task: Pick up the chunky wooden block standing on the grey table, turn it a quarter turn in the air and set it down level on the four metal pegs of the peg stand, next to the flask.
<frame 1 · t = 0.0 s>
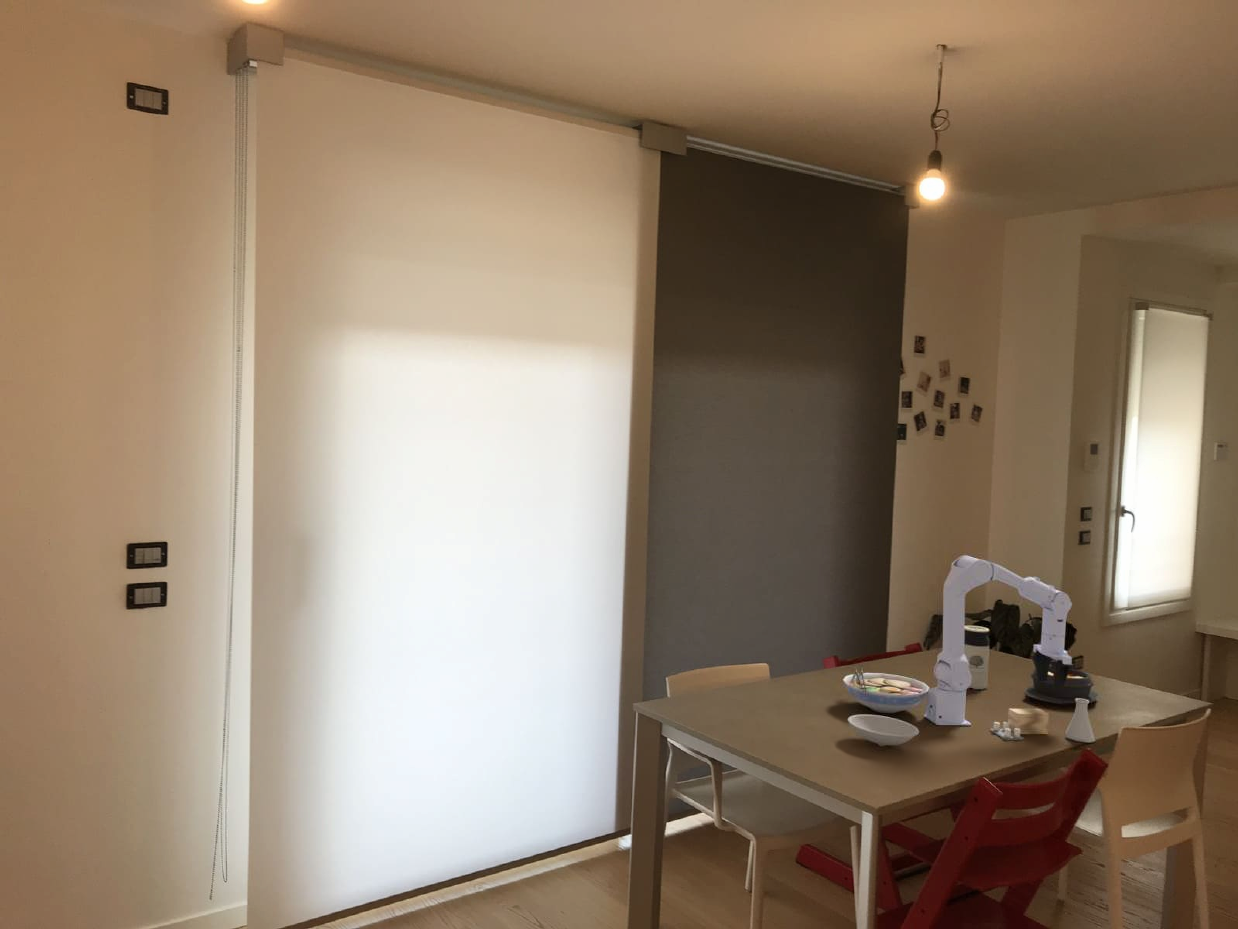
hand: (1050, 684, 255), 10 cm above the table, tool pointing down, fingers open, 7 cm apart
wooden block: (1027, 732, 245), on the table
ramen bowl: (884, 710, 260), on the table, touching arm
casserole: (1060, 701, 278), on the table
peg stand: (1006, 735, 241), on the table
dish: (881, 746, 229), on the table
flask: (1079, 739, 241), on the table
travel mug: (972, 687, 289), on the table
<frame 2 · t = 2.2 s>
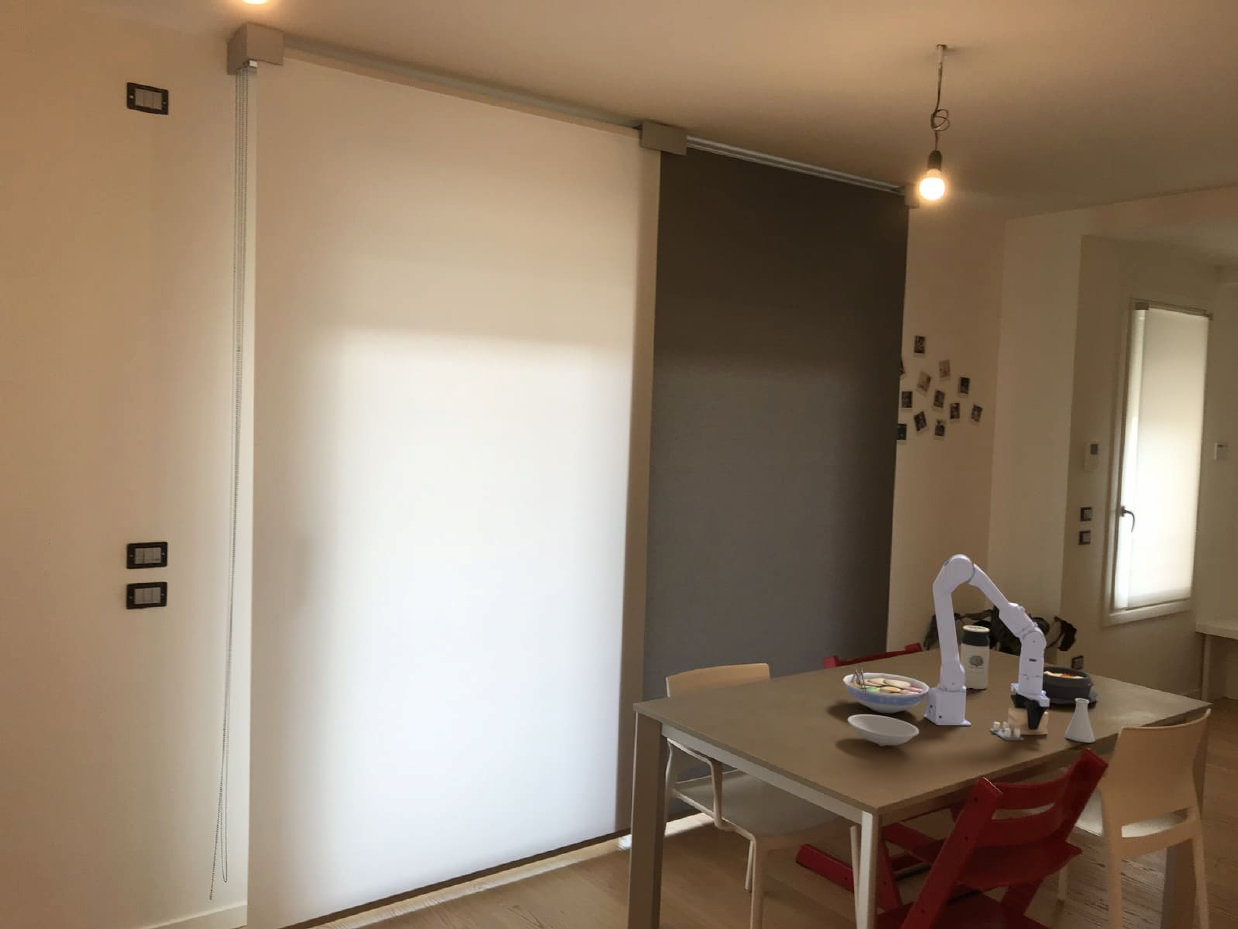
hand: (1027, 726, 245), 1 cm above the table, tool pointing down, fingers closed on wooden block, 4 cm apart
wooden block: (1027, 731, 245), on the table, touching gripper
everything else where it was.
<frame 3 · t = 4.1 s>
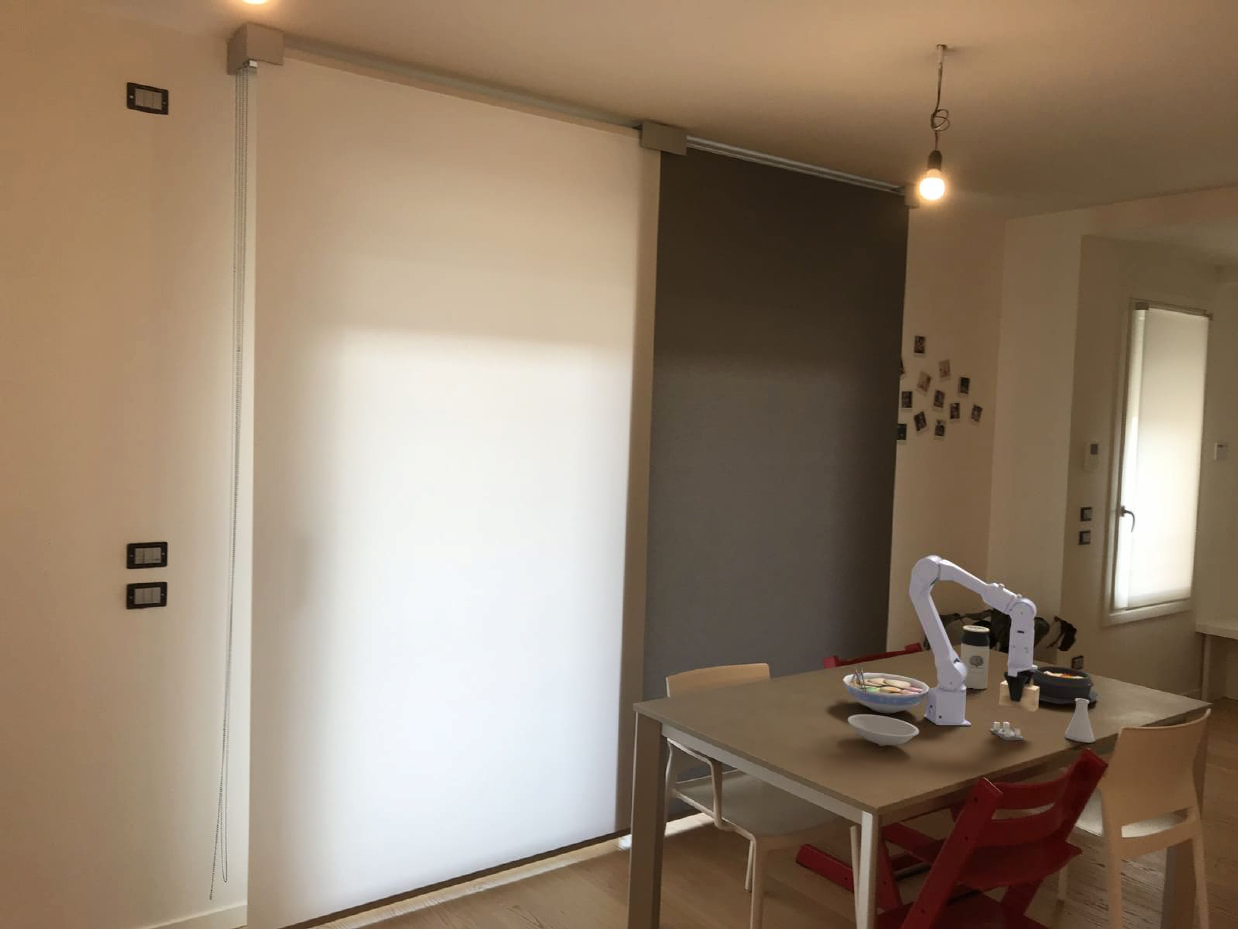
hand: (1018, 699, 243), 9 cm above the table, tool pointing down, fingers closed on wooden block, 4 cm apart
wooden block: (1018, 706, 243), point 7 cm above the table, touching gripper
everything else where it was.
when the fingers open (5 cm above the table, at t = 6.2 s): wooden block stays where it is, resting on peg stand.
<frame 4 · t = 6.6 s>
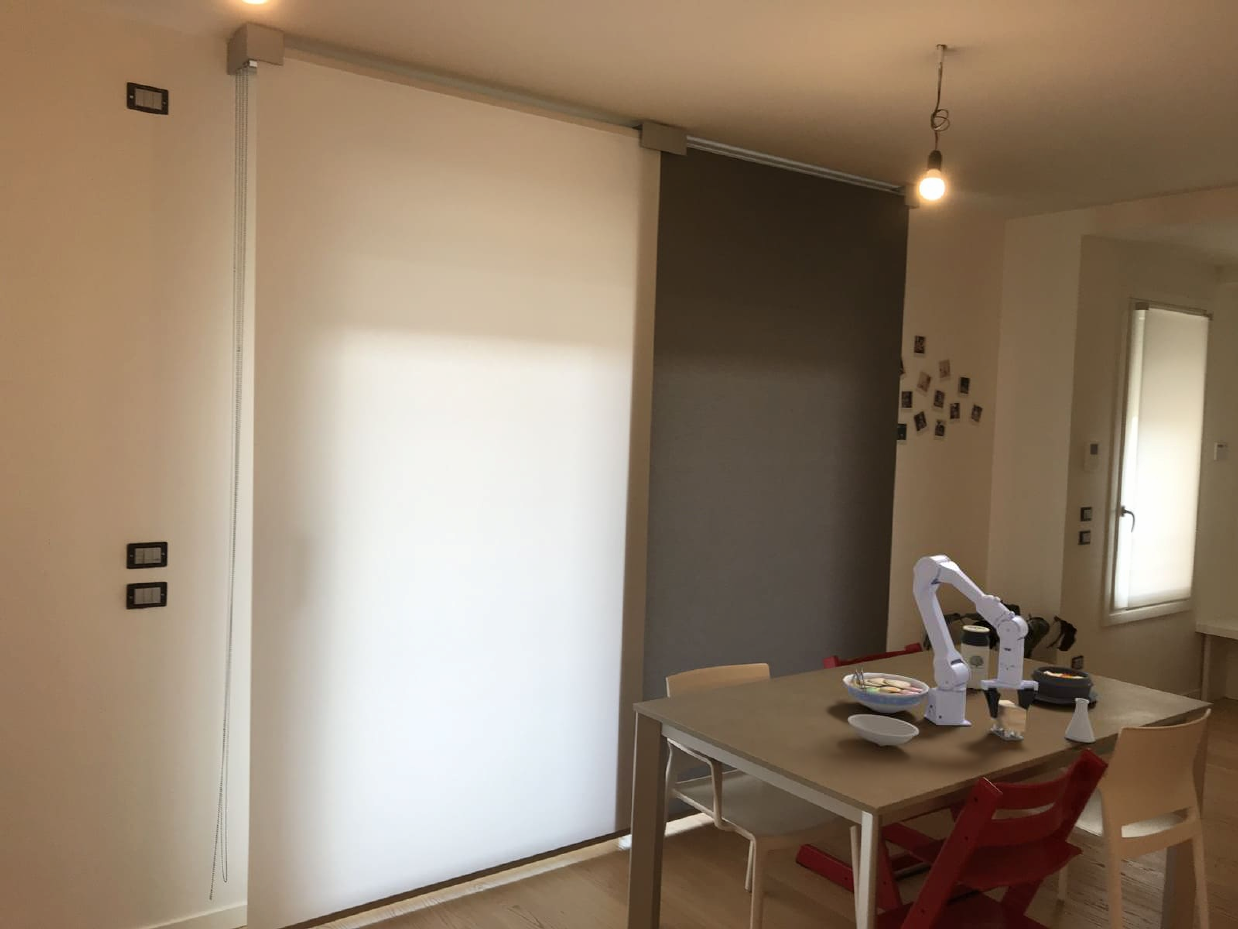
hand: (1007, 717, 241), 5 cm above the table, tool pointing down, fingers open, 7 cm apart
wooden block: (1007, 726, 241), point 2 cm above the table, touching peg stand
everything else where it was.
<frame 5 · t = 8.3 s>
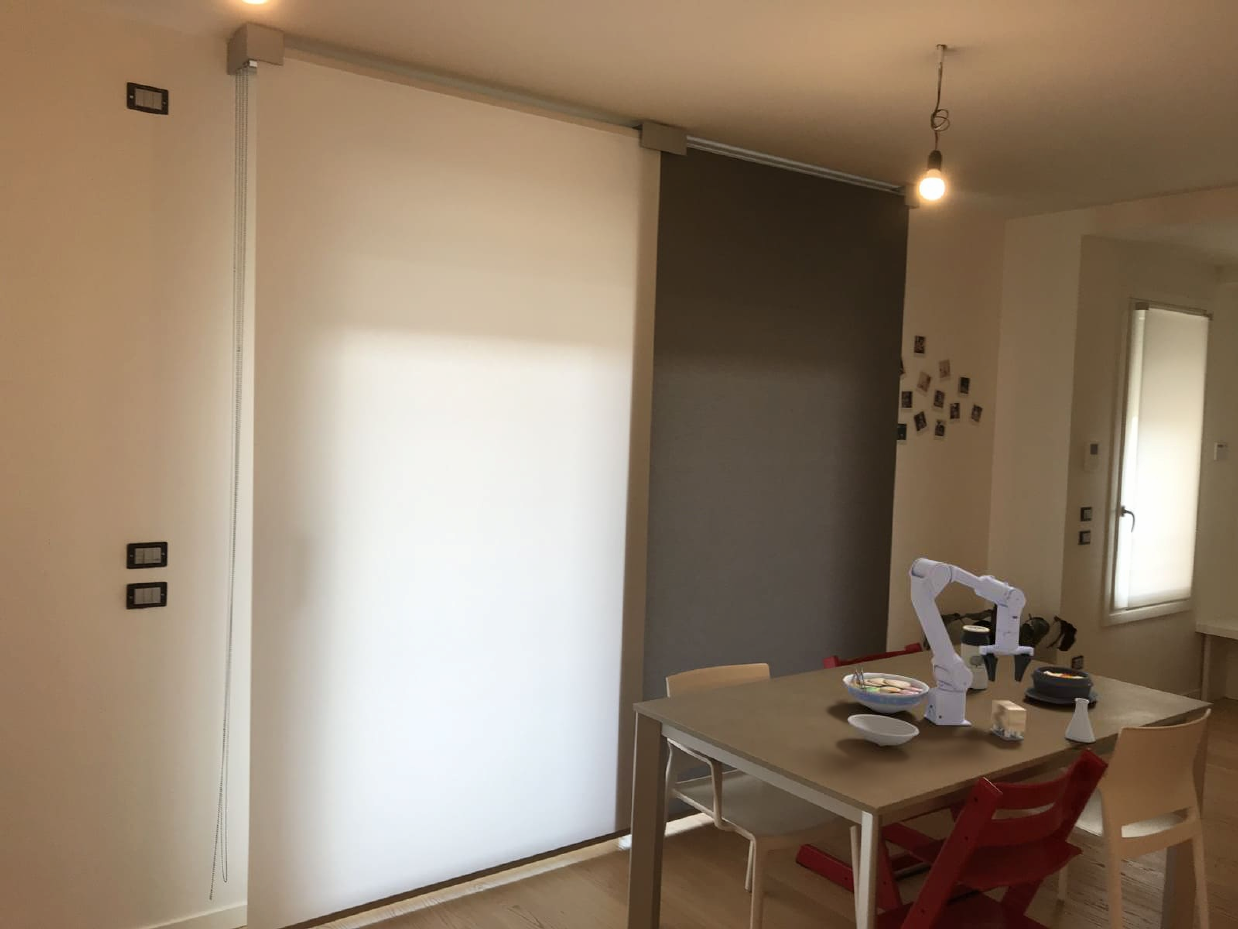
hand: (1004, 681, 255), 10 cm above the table, tool pointing down, fingers open, 7 cm apart
nothing on the table moved.
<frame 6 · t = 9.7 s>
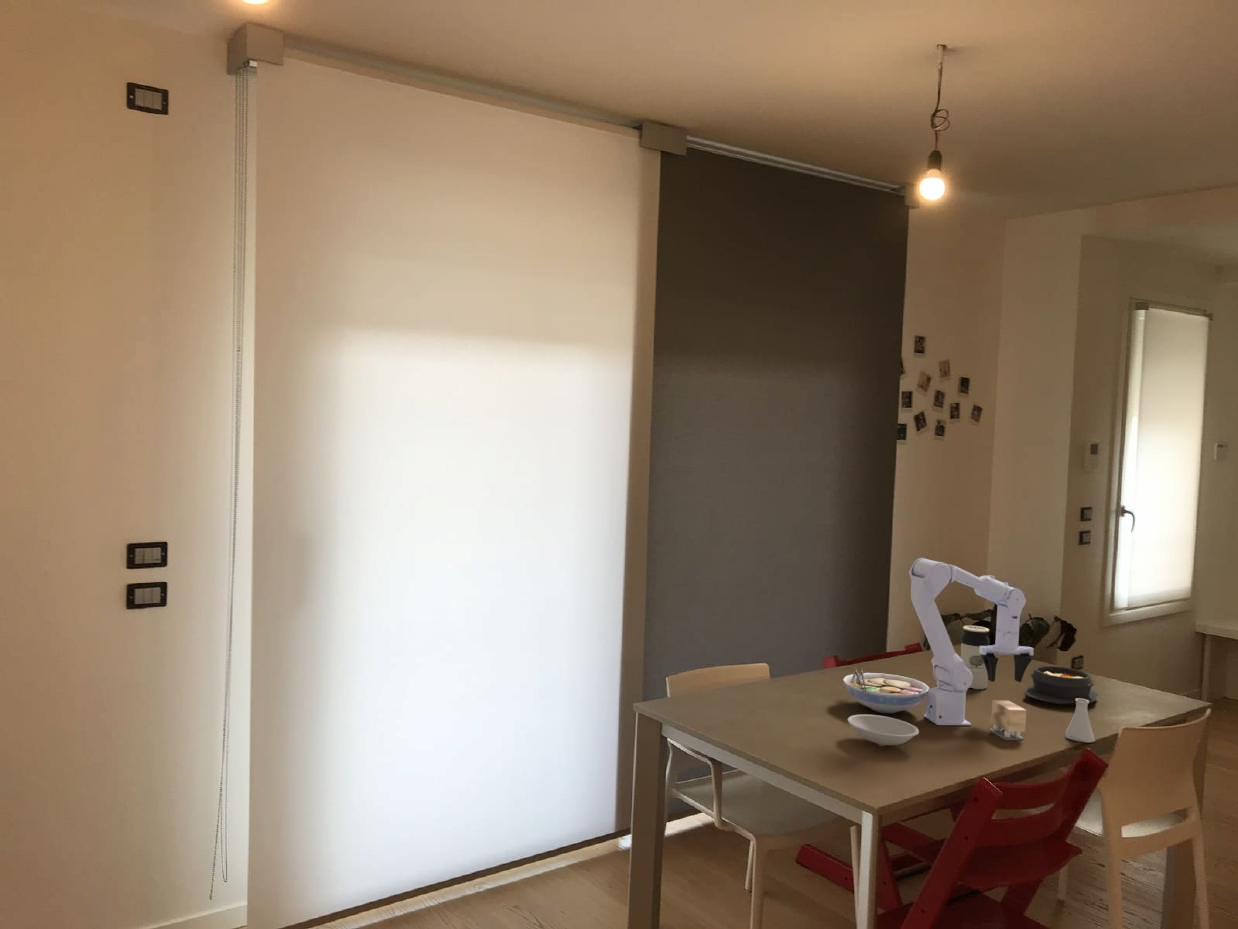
hand: (1004, 681, 255), 10 cm above the table, tool pointing down, fingers open, 7 cm apart
nothing on the table moved.
at the end: wooden block 0.4 cm off-centre on the peg stand, point 2.4 cm above the peg stand's base; wooden block tilted 0°; the gripper is holding nothing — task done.
